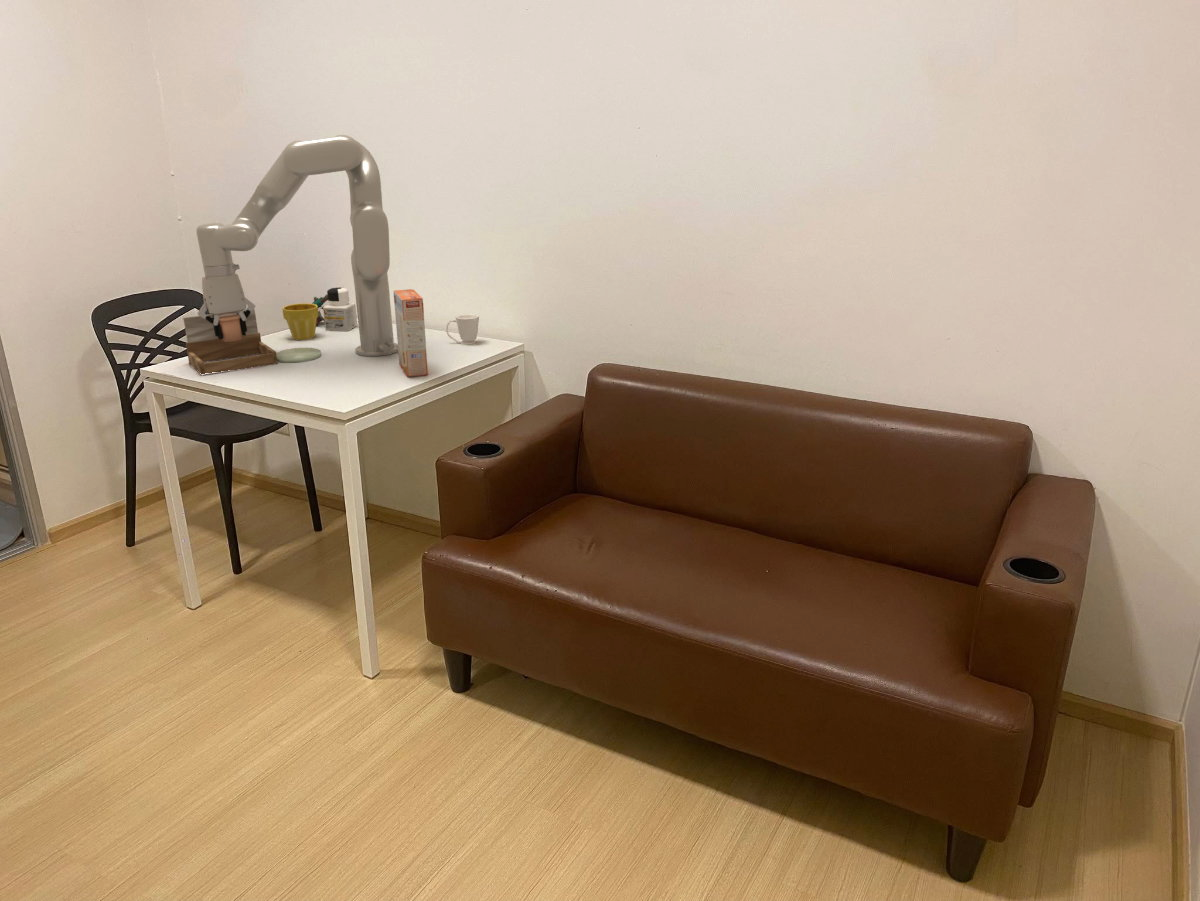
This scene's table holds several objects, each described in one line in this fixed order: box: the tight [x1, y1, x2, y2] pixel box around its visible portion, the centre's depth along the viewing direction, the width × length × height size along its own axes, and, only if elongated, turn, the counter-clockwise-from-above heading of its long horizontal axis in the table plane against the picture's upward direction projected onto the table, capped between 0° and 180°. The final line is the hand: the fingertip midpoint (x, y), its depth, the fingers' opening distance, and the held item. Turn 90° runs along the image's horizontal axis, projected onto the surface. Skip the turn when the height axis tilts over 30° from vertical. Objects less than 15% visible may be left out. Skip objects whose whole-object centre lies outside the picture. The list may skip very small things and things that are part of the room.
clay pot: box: [218, 313, 243, 342], centre depth 245 cm, size 6×6×7 cm
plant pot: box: [282, 302, 319, 341], centre depth 275 cm, size 10×10×10 cm
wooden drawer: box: [182, 308, 279, 375], centre depth 246 cm, size 15×20×13 cm
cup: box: [446, 313, 480, 345], centre depth 268 cm, size 7×10×8 cm
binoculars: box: [311, 294, 328, 327], centre depth 292 cm, size 9×9×10 cm
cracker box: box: [393, 289, 429, 378], centre depth 237 cm, size 14×6×21 cm, turn 21°
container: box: [322, 287, 358, 332], centre depth 285 cm, size 8×8×13 cm
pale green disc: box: [276, 347, 322, 364], centre depth 255 cm, size 13×13×1 cm
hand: (231, 335), depth 246 cm, fingers closed on clay pot, 5 cm apart
